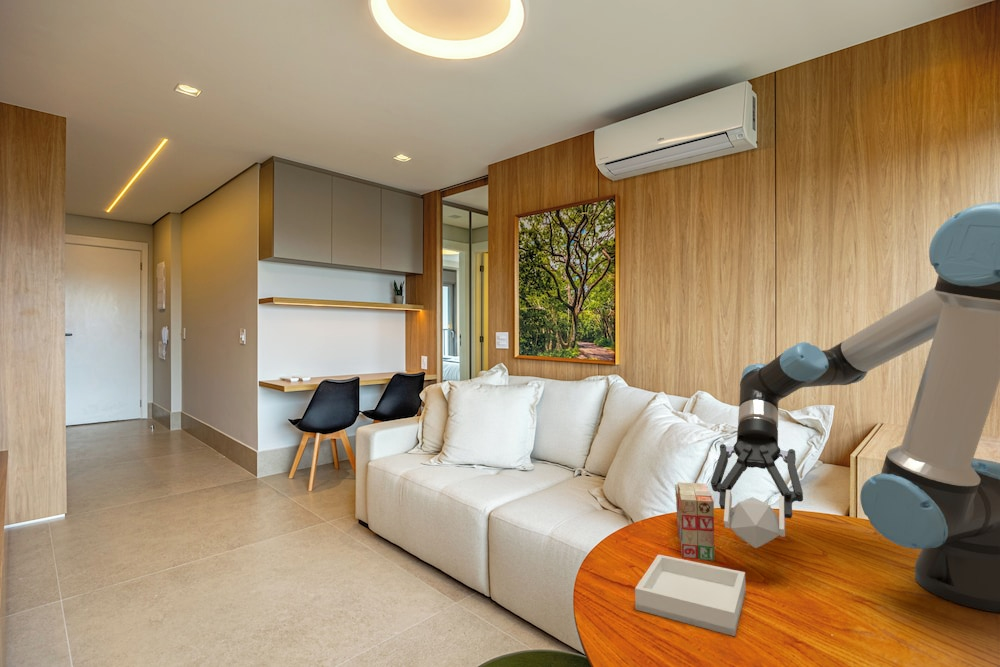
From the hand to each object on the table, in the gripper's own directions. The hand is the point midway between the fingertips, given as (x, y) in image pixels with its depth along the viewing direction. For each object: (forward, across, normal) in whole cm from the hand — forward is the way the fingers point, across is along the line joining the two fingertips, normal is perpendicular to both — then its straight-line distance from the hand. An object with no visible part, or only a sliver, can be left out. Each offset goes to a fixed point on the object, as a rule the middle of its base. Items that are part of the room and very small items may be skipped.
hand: (753, 528), depth 91 cm
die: (0, 0, -5) cm, 5 cm away
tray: (+15, +9, +1) cm, 18 cm away
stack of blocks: (-4, +14, -18) cm, 23 cm away
